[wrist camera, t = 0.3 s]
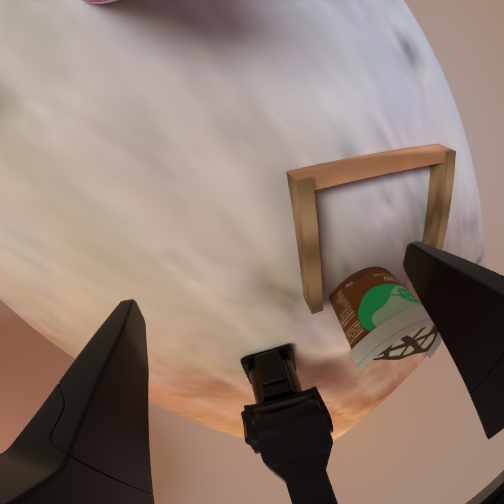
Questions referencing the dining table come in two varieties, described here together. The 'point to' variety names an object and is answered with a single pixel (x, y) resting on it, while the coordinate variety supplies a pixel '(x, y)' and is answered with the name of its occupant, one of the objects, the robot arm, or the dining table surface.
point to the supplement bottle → (98, 1)
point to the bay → (356, 169)
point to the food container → (382, 318)
